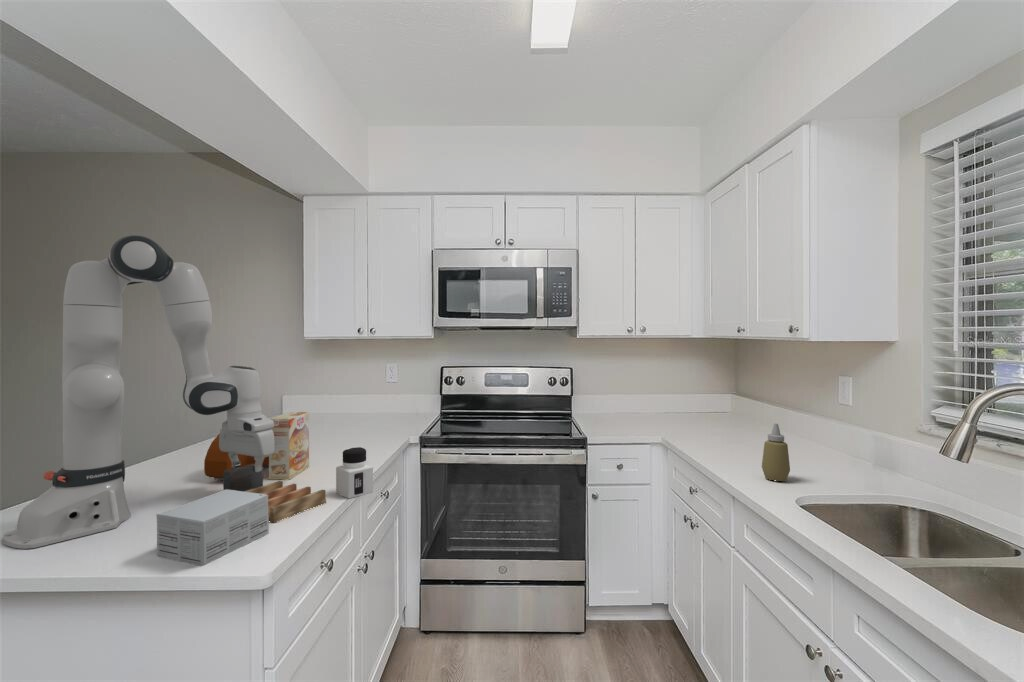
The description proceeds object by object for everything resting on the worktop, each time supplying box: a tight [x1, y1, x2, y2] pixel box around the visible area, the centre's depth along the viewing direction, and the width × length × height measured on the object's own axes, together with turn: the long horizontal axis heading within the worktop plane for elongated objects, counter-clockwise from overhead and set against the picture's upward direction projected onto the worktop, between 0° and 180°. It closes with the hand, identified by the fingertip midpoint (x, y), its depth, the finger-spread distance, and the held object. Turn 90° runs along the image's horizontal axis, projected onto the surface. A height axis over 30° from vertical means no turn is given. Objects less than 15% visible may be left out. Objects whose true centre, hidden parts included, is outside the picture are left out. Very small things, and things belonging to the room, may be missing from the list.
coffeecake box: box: [268, 411, 310, 480], centre depth 161 cm, size 15×7×20 cm, turn 179°
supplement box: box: [156, 489, 270, 567], centre depth 106 cm, size 17×13×9 cm
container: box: [335, 446, 374, 499], centre depth 141 cm, size 8×8×13 cm
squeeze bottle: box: [761, 423, 791, 482], centre depth 156 cm, size 8×8×18 cm
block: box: [222, 463, 264, 492], centre depth 140 cm, size 10×3×8 cm, turn 153°
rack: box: [244, 480, 327, 524], centre depth 130 cm, size 16×19×4 cm
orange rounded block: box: [203, 433, 269, 481], centre depth 162 cm, size 23×9×17 cm, turn 169°
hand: (246, 469), depth 140 cm, fingers open, 8 cm apart
